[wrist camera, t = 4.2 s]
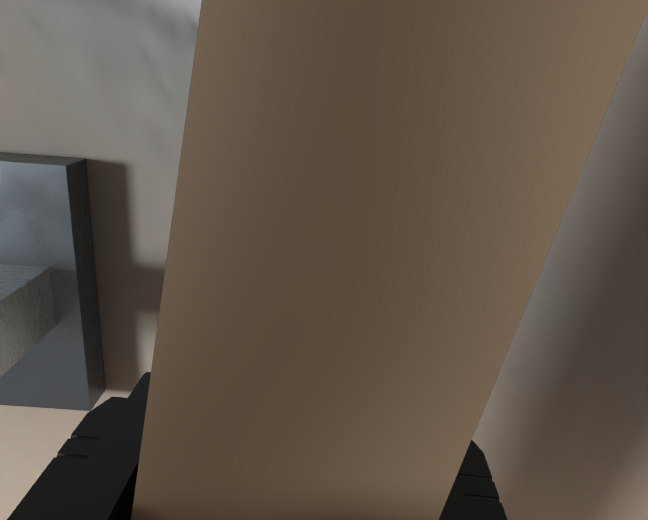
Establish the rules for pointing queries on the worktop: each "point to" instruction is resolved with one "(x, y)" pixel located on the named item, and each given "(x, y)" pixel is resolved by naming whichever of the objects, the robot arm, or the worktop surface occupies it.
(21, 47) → the worktop surface
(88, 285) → the stand
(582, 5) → the walnut beam
